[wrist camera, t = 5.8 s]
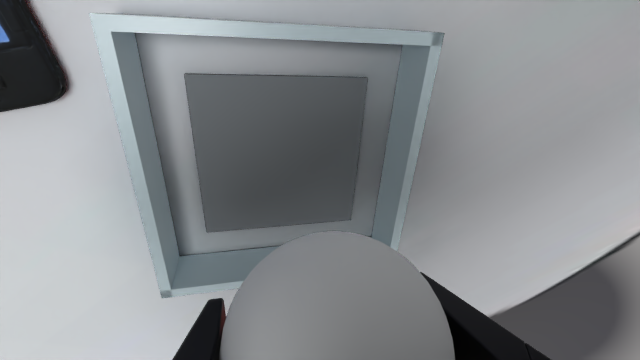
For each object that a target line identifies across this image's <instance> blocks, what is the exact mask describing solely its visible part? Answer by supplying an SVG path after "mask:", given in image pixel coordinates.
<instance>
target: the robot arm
mask: <svg viewBox="0 0 640 360" xmlns="http://www.w3.org/2000/svg"><path fill="white" fill-rule="evenodd" d="M420 273H421V274H422V275H423V277H424V278H425V279H426V280H427V282H428V283H429V285H430V286H431V288H432V290H433V291H434V293H435V295H436V296H437V298H438V300H439V301H440V303H441V306H442V308H443V310H444V313H445V315H446V318H447V321H448V324H449V328H450V332H451V335H452V339H453V346H454V354H455V360H551V359H550V358H548V357H547V356H545V355H544V354H542V353H541V352H539V351H537V350H536V349H534V348H533V347H532V346H530V345H529V344H527V343H524V341H523V340H521V339H520V338H518V337H517V336H515V335H514V334H512V333H511V332H509V331H508V330H506V329H505V328H503V327H502V326H501V325H499V324H497V323H496V322H495V321H493V320H492V319H490V318H489V317H487V316H486V315H484V314H483V313H481V312H480V311H478V310H477V309H475V308H474V307H472V306H471V305H469V304H468V303H466V302H465V301H464V300H462V299H461V298H459V297H458V296H456V295H455V294H453V293H452V292H450V291H449V290H447V289H446V288H444V287H443V286H441V285H440V284H438V283H437V282H435V281H434V280H432V279H431V278H429V277H428V276H427V275H425V274H424V273H422V272H420ZM225 320H226V314H225V307H224V300H223V299H222V298H217V299H210V300H209V301H208V302H207V303H206V305H205V307H204V308H203V310H202V312H201V313H200V315H199V317H198V318H197V320H196V321H195V323H194V325H193V326H192V328H191V330H190V331H189V333H188V335H187V336H186V338H185V340H184V341H183V343H182V345H181V346H180V348H179V350H178V351H177V353H176V355H175V356H174V358H173V359H172V360H219V352H220V345H221V338H222V332H223V327H224V323H225Z"/></svg>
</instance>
